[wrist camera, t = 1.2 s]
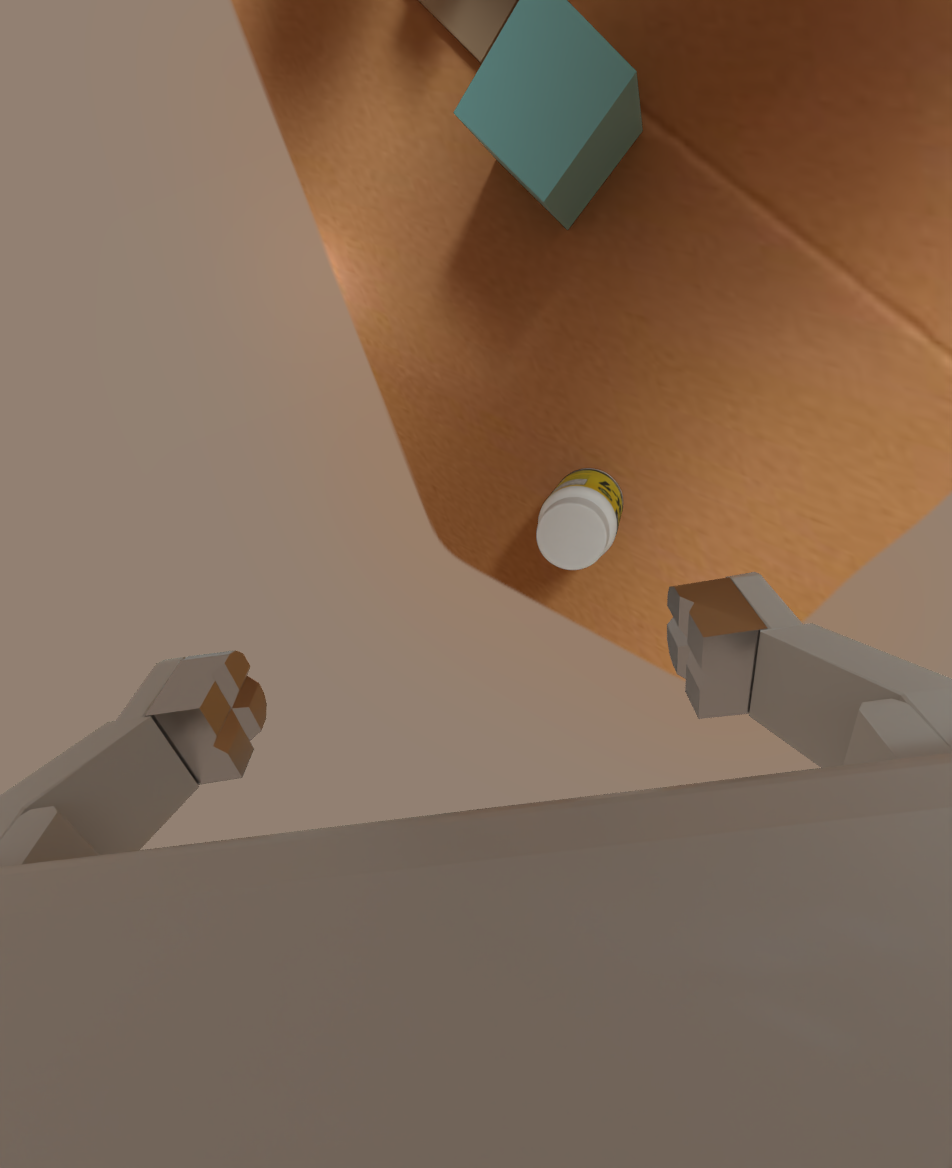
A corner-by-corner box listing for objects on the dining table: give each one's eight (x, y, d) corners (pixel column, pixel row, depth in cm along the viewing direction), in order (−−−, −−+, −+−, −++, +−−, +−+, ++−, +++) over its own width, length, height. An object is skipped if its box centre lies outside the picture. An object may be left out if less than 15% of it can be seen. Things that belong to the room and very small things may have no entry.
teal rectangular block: (565, 52, 30) (537, -31, 23) (642, 130, 30) (636, 71, 24) (496, 159, 33) (453, 112, 26) (567, 230, 33) (543, 202, 26)
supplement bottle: (632, 524, 38) (624, 567, 31) (566, 541, 40) (544, 586, 33) (612, 456, 37) (599, 485, 30) (545, 478, 39) (517, 510, 32)
